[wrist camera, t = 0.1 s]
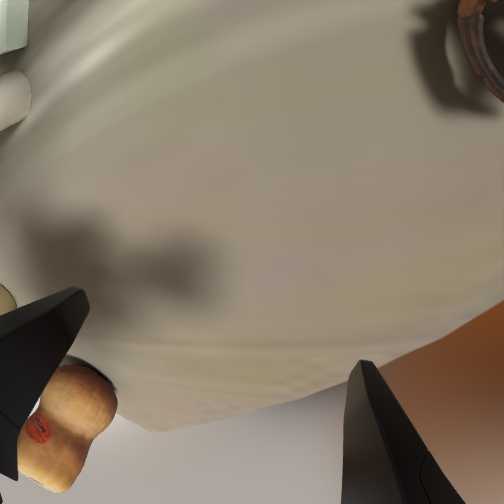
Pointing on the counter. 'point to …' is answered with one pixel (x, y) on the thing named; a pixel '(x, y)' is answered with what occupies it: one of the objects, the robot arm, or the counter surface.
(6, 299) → the squeeze bottle
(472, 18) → the pottery mug
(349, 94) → the counter surface
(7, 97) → the cylinder
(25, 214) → the counter surface
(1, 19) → the tray
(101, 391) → the butternut squash
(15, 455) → the robot arm
